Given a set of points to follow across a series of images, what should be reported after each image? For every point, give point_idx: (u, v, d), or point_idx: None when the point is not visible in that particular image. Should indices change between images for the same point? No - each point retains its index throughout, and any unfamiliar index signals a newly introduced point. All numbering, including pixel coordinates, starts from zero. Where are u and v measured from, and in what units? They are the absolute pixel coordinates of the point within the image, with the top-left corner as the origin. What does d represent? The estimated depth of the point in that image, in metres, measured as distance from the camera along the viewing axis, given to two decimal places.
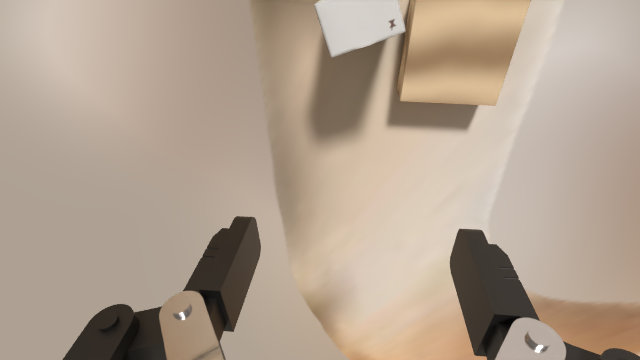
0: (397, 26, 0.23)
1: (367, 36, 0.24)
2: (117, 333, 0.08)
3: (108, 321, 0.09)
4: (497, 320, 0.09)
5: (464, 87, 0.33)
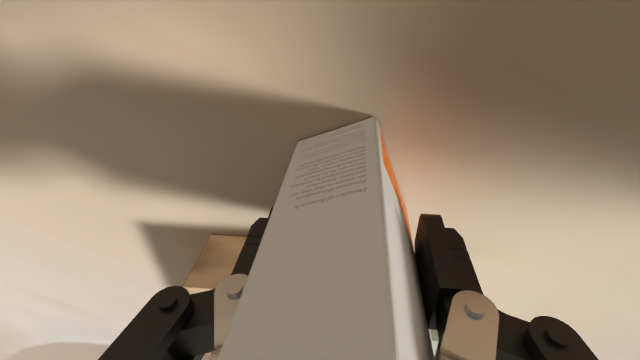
0: None
1: None
2: (176, 312, 0.09)
3: (167, 301, 0.09)
4: (443, 294, 0.10)
5: None
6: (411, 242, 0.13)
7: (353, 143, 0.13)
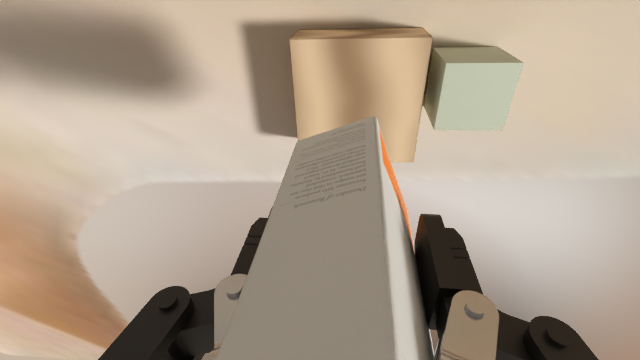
0: None
1: None
2: (177, 312, 0.09)
3: (167, 301, 0.09)
4: (443, 294, 0.10)
5: (317, 121, 0.26)
6: (411, 241, 0.13)
7: (353, 143, 0.13)
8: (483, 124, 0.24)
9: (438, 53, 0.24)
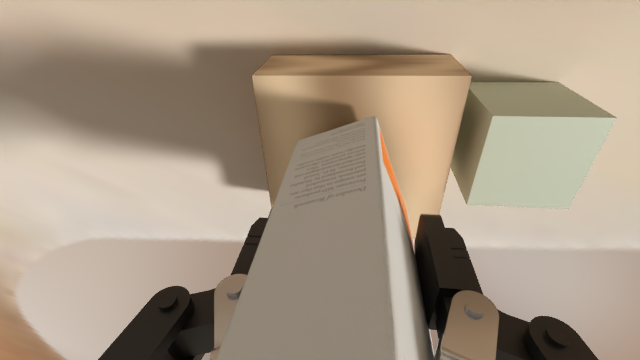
0: None
1: None
2: (177, 312, 0.09)
3: (167, 301, 0.09)
4: (443, 294, 0.10)
5: None
6: (411, 241, 0.13)
7: (353, 143, 0.13)
8: (541, 200, 0.16)
9: (474, 93, 0.16)
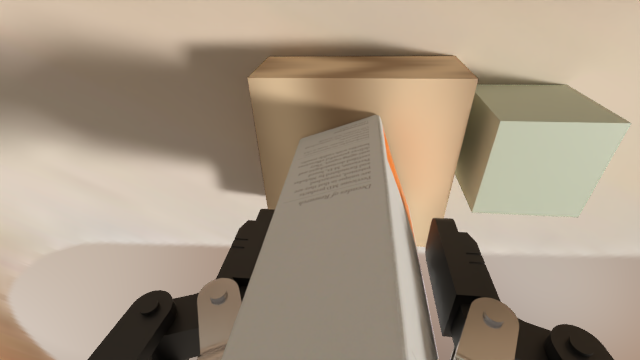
0: None
1: None
2: (158, 317, 0.09)
3: (149, 306, 0.09)
4: (460, 301, 0.09)
5: None
6: (414, 240, 0.13)
7: (356, 141, 0.13)
8: (549, 208, 0.15)
9: (480, 97, 0.16)
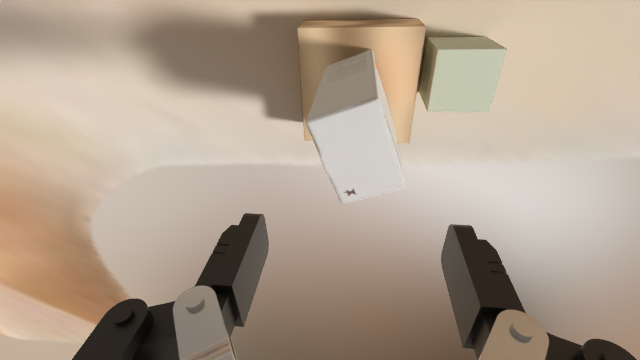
0: (348, 197, 0.19)
1: (336, 167, 0.18)
2: (132, 326, 0.09)
3: (123, 315, 0.09)
4: (484, 312, 0.09)
5: None
6: (390, 114, 0.24)
7: (359, 59, 0.24)
8: (472, 106, 0.26)
9: (431, 41, 0.27)
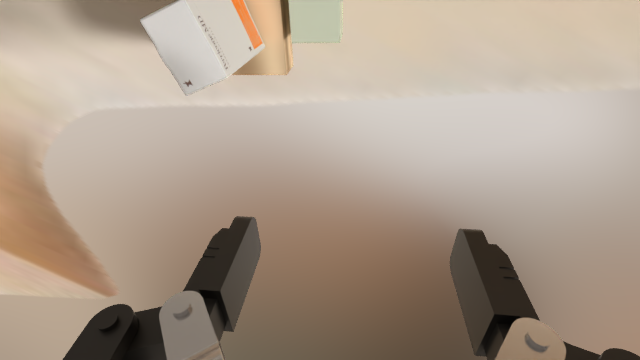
0: (188, 88, 0.25)
1: (171, 60, 0.24)
2: (117, 333, 0.08)
3: (108, 321, 0.09)
4: (497, 320, 0.09)
5: None
6: (248, 38, 0.30)
7: None
8: (325, 37, 0.32)
9: None
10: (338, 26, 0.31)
